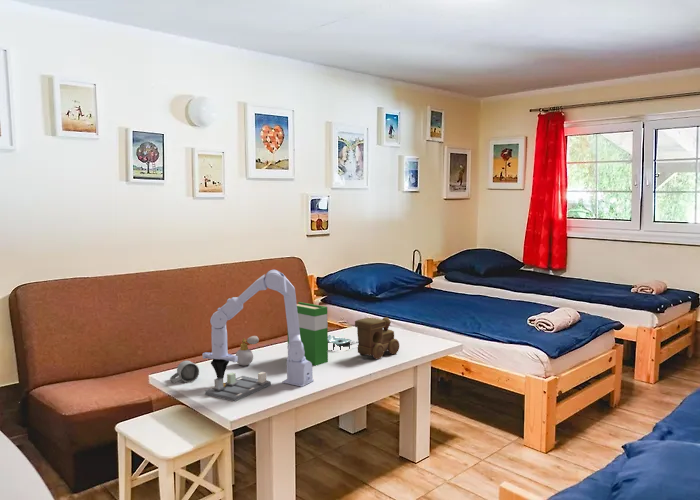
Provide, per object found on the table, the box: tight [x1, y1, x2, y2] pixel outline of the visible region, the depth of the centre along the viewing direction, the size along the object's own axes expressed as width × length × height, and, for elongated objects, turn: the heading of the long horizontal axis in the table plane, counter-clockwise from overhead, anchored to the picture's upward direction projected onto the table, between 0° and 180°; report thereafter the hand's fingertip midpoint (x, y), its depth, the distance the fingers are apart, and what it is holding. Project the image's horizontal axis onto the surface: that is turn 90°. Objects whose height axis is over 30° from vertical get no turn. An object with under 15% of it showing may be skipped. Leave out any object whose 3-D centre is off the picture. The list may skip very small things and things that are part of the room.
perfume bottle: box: [235, 335, 260, 367], centre depth 236 cm, size 8×10×12 cm
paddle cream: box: [256, 371, 269, 385], centre depth 207 cm, size 4×3×4 cm
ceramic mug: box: [169, 360, 200, 383], centre depth 216 cm, size 10×8×7 cm
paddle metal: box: [211, 377, 226, 391], centre depth 201 cm, size 4×3×4 cm
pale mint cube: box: [224, 372, 238, 386], centre depth 206 cm, size 4×3×4 cm
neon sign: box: [328, 334, 354, 350], centre depth 270 cm, size 21×4×29 cm
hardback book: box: [287, 301, 329, 367], centre depth 241 cm, size 18×7×24 cm, turn 47°
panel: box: [204, 375, 272, 402], centre depth 205 cm, size 14×20×2 cm
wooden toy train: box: [354, 317, 400, 360], centre depth 248 cm, size 20×11×17 cm, turn 135°
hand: (220, 378), depth 209 cm, fingers closed
